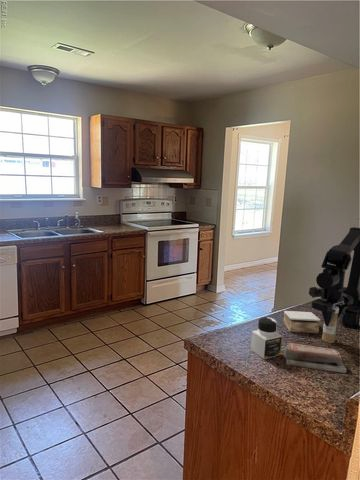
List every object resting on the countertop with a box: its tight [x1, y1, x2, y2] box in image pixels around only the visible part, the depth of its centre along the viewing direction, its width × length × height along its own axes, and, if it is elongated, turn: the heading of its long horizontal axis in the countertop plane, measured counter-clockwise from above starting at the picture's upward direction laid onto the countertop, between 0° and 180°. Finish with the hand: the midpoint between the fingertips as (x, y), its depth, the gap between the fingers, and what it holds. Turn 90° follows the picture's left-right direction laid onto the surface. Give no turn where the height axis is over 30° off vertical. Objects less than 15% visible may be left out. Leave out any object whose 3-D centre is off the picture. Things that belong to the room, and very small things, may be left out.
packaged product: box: [284, 342, 347, 374], centre depth 113 cm, size 18×5×10 cm
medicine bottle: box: [250, 316, 283, 360], centre depth 116 cm, size 7×7×12 cm
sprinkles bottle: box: [321, 305, 339, 344], centre depth 127 cm, size 5×5×14 cm
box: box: [283, 312, 320, 334], centre depth 139 cm, size 11×10×4 cm
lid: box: [283, 310, 321, 322], centre depth 139 cm, size 11×10×1 cm
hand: (330, 324), depth 127 cm, fingers closed on sprinkles bottle, 4 cm apart
